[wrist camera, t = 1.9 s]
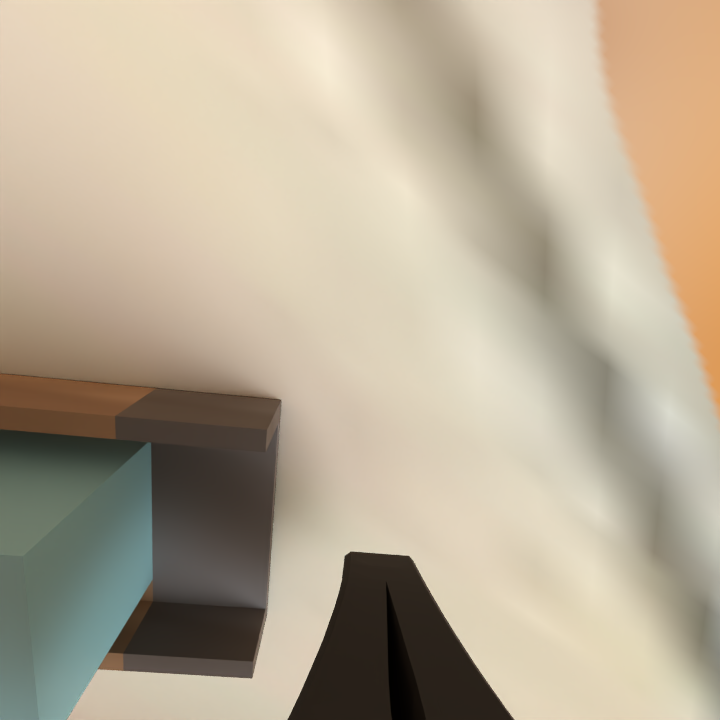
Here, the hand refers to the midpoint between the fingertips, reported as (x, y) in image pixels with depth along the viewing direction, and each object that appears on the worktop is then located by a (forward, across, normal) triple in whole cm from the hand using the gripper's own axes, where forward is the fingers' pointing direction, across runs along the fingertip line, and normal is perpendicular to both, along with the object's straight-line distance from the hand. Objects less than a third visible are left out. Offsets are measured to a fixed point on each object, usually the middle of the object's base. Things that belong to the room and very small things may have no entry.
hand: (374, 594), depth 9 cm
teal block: (+2, +8, 0) cm, 8 cm away
